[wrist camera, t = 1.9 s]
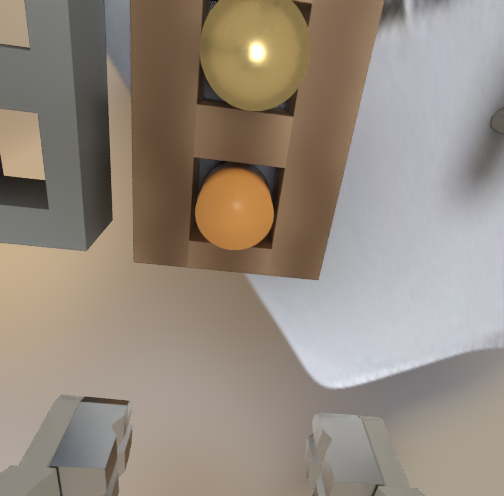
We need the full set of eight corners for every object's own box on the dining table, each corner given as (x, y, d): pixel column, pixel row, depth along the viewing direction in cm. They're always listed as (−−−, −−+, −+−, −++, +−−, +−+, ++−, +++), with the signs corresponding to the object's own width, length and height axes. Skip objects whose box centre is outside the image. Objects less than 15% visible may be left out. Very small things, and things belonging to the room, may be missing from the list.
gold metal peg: (214, 89, 23) (196, 103, 14) (219, 14, 21) (203, -24, 12) (277, 97, 23) (300, 117, 14) (288, 24, 22) (321, -5, 13)
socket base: (148, 236, 27) (133, 262, 24) (149, -75, 20) (128, -107, 16) (308, 252, 28) (318, 280, 25) (371, -39, 21) (398, -61, 17)
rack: (-20, 206, 26) (-74, 235, 22) (-89, -141, 18) (-196, -207, 14) (112, 220, 27) (86, 251, 22) (99, -109, 19) (55, -162, 14)
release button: (199, 223, 25) (192, 246, 22) (203, 157, 23) (197, 171, 20) (264, 230, 25) (267, 253, 22) (274, 165, 23) (279, 181, 20)
